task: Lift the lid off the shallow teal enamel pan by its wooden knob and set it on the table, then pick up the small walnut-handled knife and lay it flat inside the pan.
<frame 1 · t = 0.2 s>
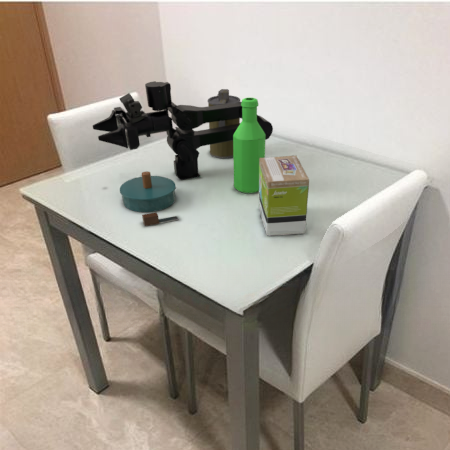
hand: (95, 132, 136), 17 cm above the table, tool horizontal, fingers open, 9 cm apart
canister: (224, 153, 167), on the table
knife: (160, 221, 129), on the table
lid: (147, 188, 137), point 4 cm above the table, touching pot
bottle: (248, 188, 144), on the table
pot: (149, 200, 139), on the table
tea box: (280, 222, 128), on the table
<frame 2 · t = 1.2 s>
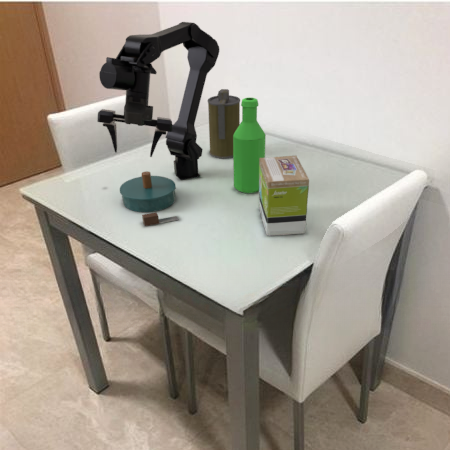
hand: (133, 154, 131), 13 cm above the table, tool tilted 15°, fingers open, 9 cm apart
nothing on the table moved.
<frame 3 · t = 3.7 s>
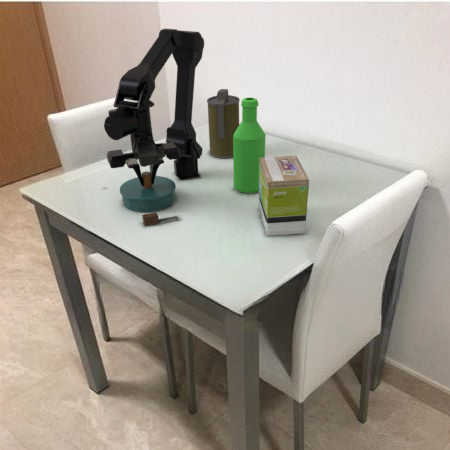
hand: (147, 185, 136), 5 cm above the table, tool pointing down, fingers closed on lid, 2 cm apart
lid: (147, 188, 137), point 4 cm above the table, touching gripper, pot
everything else where it was.
when the fingers open (2 cm above the table, at t = 9.2 s): lid stays where it is, point 1 cm above the table.
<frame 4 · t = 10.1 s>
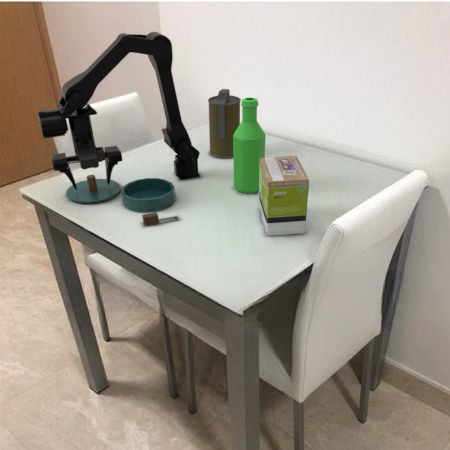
hand: (92, 186, 142), 2 cm above the table, tool pointing down, fingers open, 9 cm apart
lid: (93, 191, 143), point 1 cm above the table
everything else where it was.
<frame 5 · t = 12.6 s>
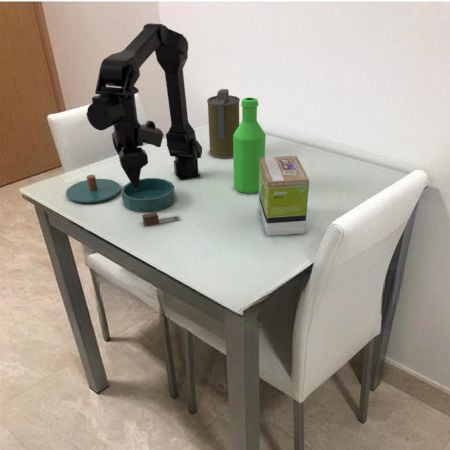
hand: (133, 180, 125), 10 cm above the table, tool pointing down, fingers open, 9 cm apart
nothing on the table moved.
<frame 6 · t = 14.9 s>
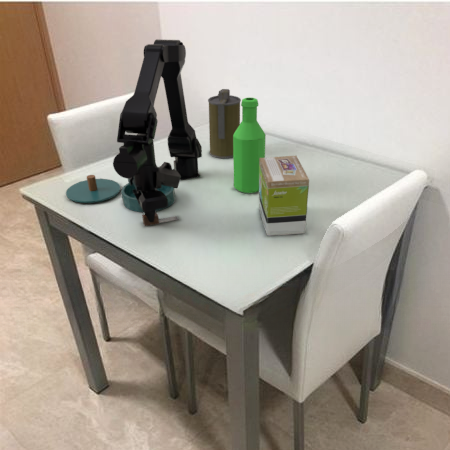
hand: (150, 219, 128), 1 cm above the table, tool pointing down, fingers closed on knife, 2 cm apart
knife: (160, 221, 129), on the table, touching gripper
everything else where it was.
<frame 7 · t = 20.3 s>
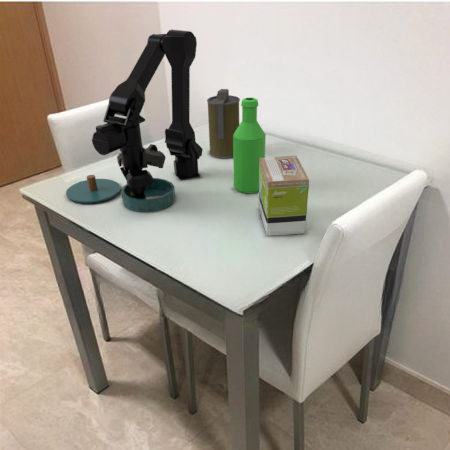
hand: (138, 198, 138), 1 cm above the table, tool pointing down, fingers open, 6 cm apart
knife: (147, 199, 139), resting on pot
everything else where it was.
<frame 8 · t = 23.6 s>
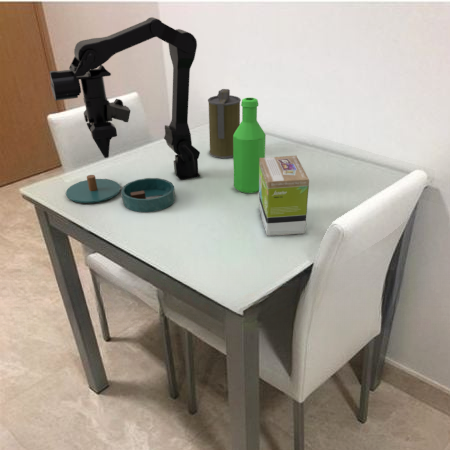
hand: (104, 153, 138), 11 cm above the table, tool pointing down, fingers open, 6 cm apart
nothing on the table moved.
at the end: lid inside the target area (0.1 cm from its centre), point 0.6 cm above the table; knife inside the target area in the pot (0.4 cm from its centre), point 0.4 cm above the pot's base; the gripper is holding nothing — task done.
